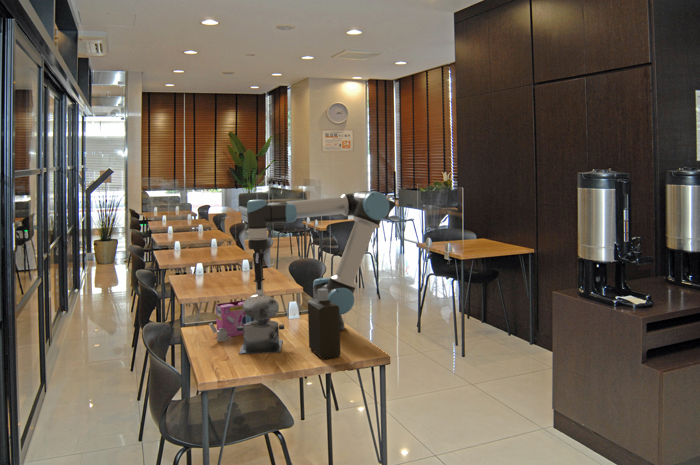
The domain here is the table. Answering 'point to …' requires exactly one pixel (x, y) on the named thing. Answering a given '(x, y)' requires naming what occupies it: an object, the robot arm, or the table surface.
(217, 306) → the gum box
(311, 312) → the bottle
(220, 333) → the lighter
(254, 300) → the lid
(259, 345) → the pot
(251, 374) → the table surface
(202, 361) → the table surface
